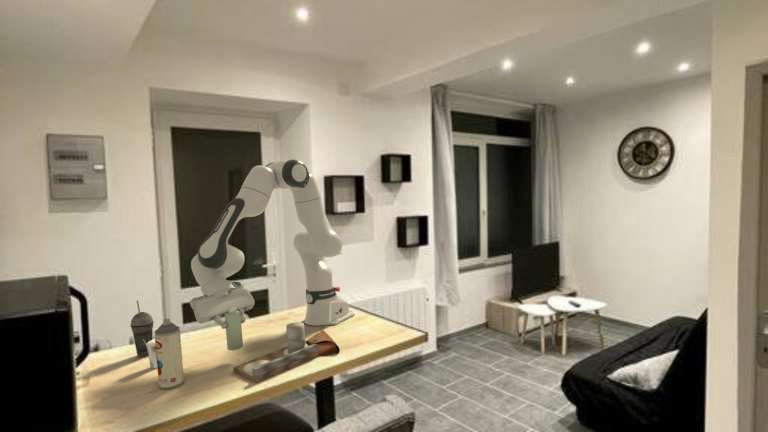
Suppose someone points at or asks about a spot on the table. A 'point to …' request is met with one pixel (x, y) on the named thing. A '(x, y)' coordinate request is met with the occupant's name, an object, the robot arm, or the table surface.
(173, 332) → the aerosol can
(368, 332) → the table surface
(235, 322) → the slim bottle
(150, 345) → the milkshake
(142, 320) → the beverage cup
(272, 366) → the rail stand
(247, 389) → the table surface
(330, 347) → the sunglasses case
